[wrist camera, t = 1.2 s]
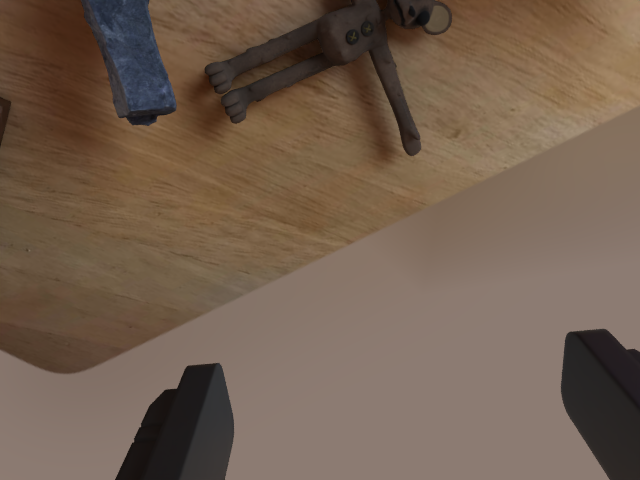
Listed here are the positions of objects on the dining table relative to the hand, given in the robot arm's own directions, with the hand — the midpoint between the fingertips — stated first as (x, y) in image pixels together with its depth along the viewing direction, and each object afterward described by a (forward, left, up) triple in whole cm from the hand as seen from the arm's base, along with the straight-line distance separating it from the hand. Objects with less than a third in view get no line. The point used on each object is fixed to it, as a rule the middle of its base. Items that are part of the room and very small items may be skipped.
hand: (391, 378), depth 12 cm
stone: (-12, +3, -25) cm, 27 cm away
